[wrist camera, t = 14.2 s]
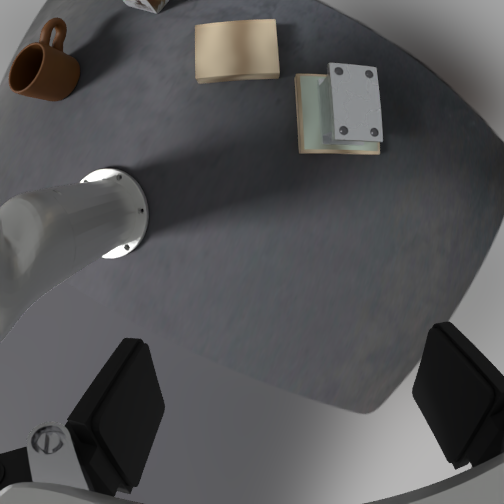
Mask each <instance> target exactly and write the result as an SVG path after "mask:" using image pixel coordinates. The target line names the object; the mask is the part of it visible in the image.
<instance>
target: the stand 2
mask: <svg viewBox="0 0 504 504" xmlns="http://www.w3.org/2000/svg"><path fill="white" fill-rule="evenodd" d="M326 76H327V75H325V74H296V76H295V78H294V80H295V94H296V109H297V126H298V145H299V154H362V155H380V142H379V143H377V142H364V145H363V146H352V145H321V136H320V119H319V104H318V91H317V80H318V79H325V78H326Z"/></svg>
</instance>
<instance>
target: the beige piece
mask: <svg viewBox="0 0 504 504" xmlns="http://www.w3.org/2000/svg"><path fill="white" fill-rule="evenodd" d="M195 74H196V80H197V81H198V83H199V84H204V83H213V82H224V81H236V80H253V79H279V74H280V70H279V56H278V44H277V32H276V21H275V19H262V20H241V21H228V22H218V23H209V24H201V25H195Z"/></svg>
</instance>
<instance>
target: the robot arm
mask: <svg viewBox="0 0 504 504" xmlns="http://www.w3.org/2000/svg"><path fill="white" fill-rule="evenodd" d="M121 175H122V179H121ZM142 208H143V210H144V212H142ZM148 220H149V210H148V204H147V199H146V197H145V194H144V192H143V190H142V188H141V187H140V185H139V183H138V182H137V181H136V180H135V179H134V178H133V177H132V176H130V175H129V174H127V173H126V172H124V171H121V170H119V169H114V168H104V169H98V170H96V171H93V172H91V173H90V174H88V175H87V176H85V177H84V178H83V179H82V180H81V182H80V183H76V184H70V185H63V186H57V187H51V188H45V189H40V190H34V191H29V192H24V193H21V194H18V195H16V196H15V197H13V198H11V199H10V200H8V201H7V202H6V203H5V204H3V205H2V206H1V207H0V343H1V342H2V341H3V340H4V339H5V337H6V336H7V335H8V334H9V332H10V331H11V330H12V328H13V327H14V326H15V324H16V323H17V322H18V320H19V319H20V318H21V316H22V315H23V314H24V313H25V312H26V310H27V309H28V308H29V307H30V306H31V305H32V304H33V303H35V302H36V301H37V300H38V299H39V298H41V297H42V296H43V295H44V294H45V293H47V292H49V291H50V290H51V289H53V288H54V287H56V286H57V285H58V284H60V283H62V282H63V281H65V280H66V279H68V278H69V277H71V276H72V275H74V274H75V273H77V272H79V271H80V270H82V269H83V268H85V267H86V266H88V265H89V264H91V263H93V262H94V261H96V260H97V259H99V258H100V257H103V258H109V259H113V258H119V257H122V256H125V255H127V254H128V253H130V252H131V251H132V250H134V249H135V248H136V247H137V246H138V245H139V243H140V242H141V241H142V239H143V237H144V235H145V233H146V230H147V226H148ZM128 245H129V247H128ZM412 394H413V397H414V399H415V401H416V403H417V405H418V406H419V408H420V410H421V412H422V414H423V416H424V417H425V419H426V421H427V423H428V425H429V426H430V428H431V430H432V432H433V434H434V436H435V438H436V440H437V442H438V443H439V445H440V447H441V449H442V451H443V453H444V455H445V457H446V459H447V461H448V462H449V463H452V464H453V466H454V468H455V469H458V468H460V467H463V466H465V465H467V464H468V463H469V462H470V463H471V464H472V467H471V469H469V470H467V471H464V472H462V473H460V474H458V475H455V476H453V477H451V478H448V479H445V480H443V481H440V482H437V483H435V484H432V485H429V486H426V487H423V488H420V489H417V490H414V491H411V492H407V493H404V494H401V495H397V496H394V497H390V498H386V499H382V500H378V501H373V502H369V503H364V504H504V376H503V375H502V374H501V373H500V371H498V369H497V368H496V367H495V366H494V365H493V364H492V363H491V362H490V361H489V360H488V359H487V358H486V357H485V356H484V355H483V354H482V353H481V352H480V351H479V350H478V349H477V348H476V347H475V346H474V345H473V344H472V343H471V342H470V341H469V340H468V339H467V338H466V337H465V336H464V335H463V334H462V333H461V332H460V331H459V330H458V329H457V328H456V327H455V326H454V325H453V324H452V323H451V322H442V323H436V324H434V325H433V327H432V328H431V329H430V330H429V332H428V336H427V340H426V344H425V348H424V352H423V355H422V359H421V362H420V366H419V369H418V373H417V376H416V379H415V382H414V385H413V390H412ZM164 410H165V404H164V400H163V397H162V393H161V390H160V387H159V383H158V380H157V376H156V373H155V369H154V365H153V361H152V358H151V354H150V350H149V346H148V345H147V344H146V343H144V342H143V341H142V340H141V339H135V338H124V339H123V340H122V342H121V343H120V344H119V346H118V347H117V348H116V350H115V351H114V353H113V354H112V355H111V357H110V358H109V360H108V361H107V362H106V364H105V365H104V367H103V368H102V369H101V371H100V372H99V374H98V375H97V376H96V378H95V379H94V381H93V382H92V384H91V385H90V386H89V388H88V389H87V391H86V392H85V394H84V395H83V397H82V398H81V399H80V401H79V402H78V404H77V405H76V407H75V408H74V410H73V411H72V413H71V414H70V416H69V417H68V419H67V420H68V422H67V423H66V425H65V426H64V425H62V424H60V423H57V422H46V423H42V424H40V425H38V426H36V427H35V428H34V429H33V430H32V431H31V432H30V433H29V435H28V437H27V447H23V448H20V449H16V450H13V451H9V452H6V453H2V454H0V504H143V503H138V502H133V501H129V500H124V499H120V498H116V497H114V496H115V494H116V492H117V491H120V492H124V493H128V494H131V491H132V488H133V487H137V486H138V484H139V481H140V479H141V475H142V473H143V470H144V467H145V464H146V461H147V459H148V456H149V453H150V450H151V447H152V444H153V441H154V439H155V436H156V433H157V430H158V427H159V425H160V422H161V419H162V417H163V413H164Z"/></svg>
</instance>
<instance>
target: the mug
mask: <svg viewBox="0 0 504 504" xmlns="http://www.w3.org/2000/svg"><path fill="white" fill-rule="evenodd" d="M53 28H55V29H56V36H55V38H54V40H53V43H52V47H51V46H49V42H50V37H51V32H52V29H53ZM66 32H67V27H66V24H65V22H64V21H63V20H62V19H61V18H53V19H51V20H49V21H48V22H47V23H46V24H45V25H44V27H43V29H42V31H41V35H40V40H39V42H35V43H32V44H29V45H28V46H26V47H25V48H24V49H23V50H22V51H21V52H20V53H19V54H18V56H17V57H16V59H15V60H14V62H13V64H12V66H11V69H10V73H9V86H10V88H11V90H12V91H13V92H15V93H18V94H21V95H24V96H28V97H33V98H38V99H43V100H48V101H59V100H62V99H64V98H65V97H67V96H68V95H69V94H70V93H71V92H72V91H73V89H74V88H75V86H76V85H77V82H78V80H79V76H80V66H79V63H78V61H77V60H76V59H75V58H73V57H71V56H70V55H67V54H65V53H64V52H63V42H64V40H65V37H66Z"/></svg>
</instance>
